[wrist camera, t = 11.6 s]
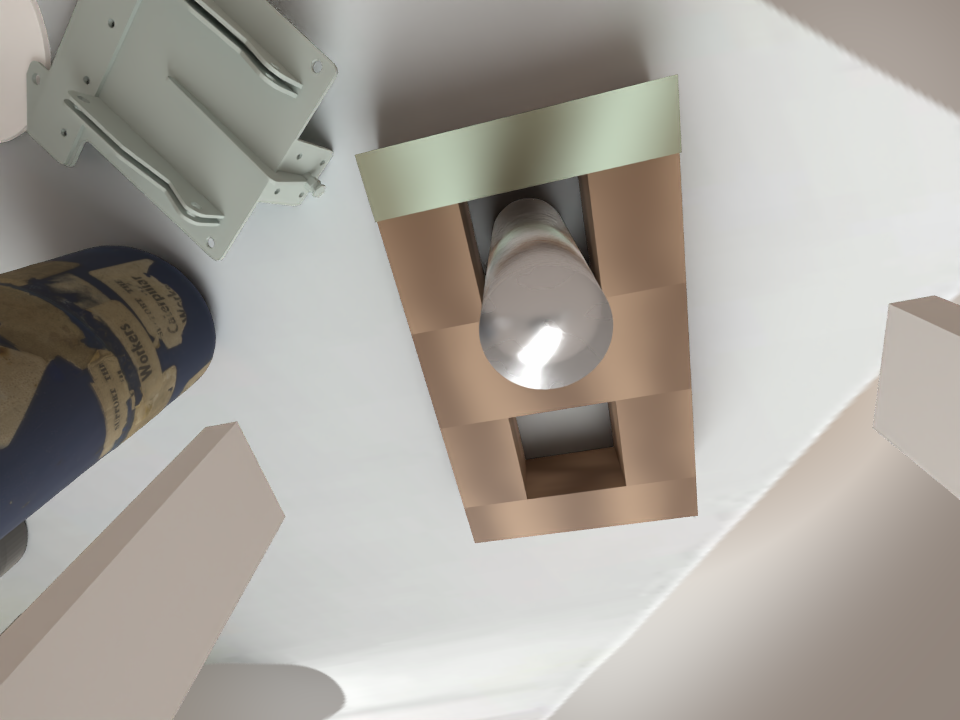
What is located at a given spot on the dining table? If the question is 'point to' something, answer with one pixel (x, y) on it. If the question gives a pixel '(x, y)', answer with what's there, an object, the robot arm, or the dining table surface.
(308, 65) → the metal bracket
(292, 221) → the dining table surface
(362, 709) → the dining table surface
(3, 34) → the white upright piece
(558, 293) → the steel pin
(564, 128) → the pin plate
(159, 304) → the canister
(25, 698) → the robot arm
